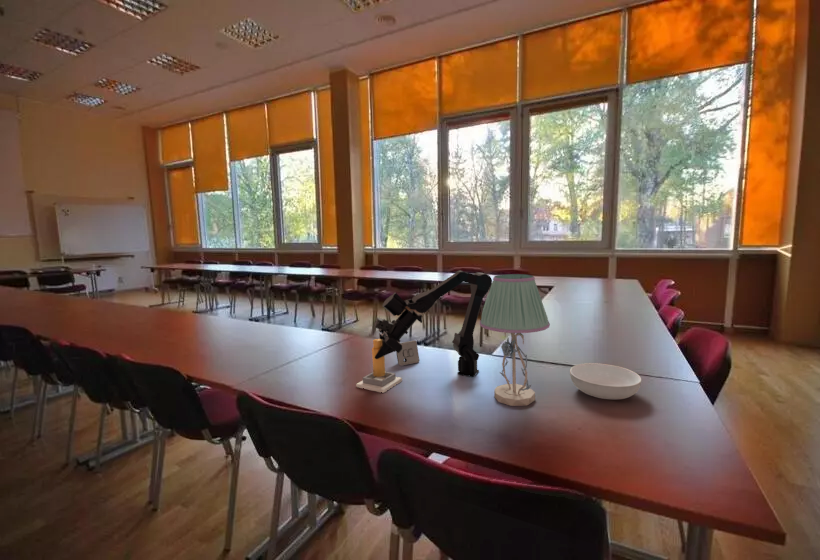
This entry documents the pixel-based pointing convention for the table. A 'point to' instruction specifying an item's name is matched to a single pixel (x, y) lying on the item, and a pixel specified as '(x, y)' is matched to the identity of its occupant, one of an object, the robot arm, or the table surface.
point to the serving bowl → (605, 380)
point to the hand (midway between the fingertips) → (374, 356)
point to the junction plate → (379, 382)
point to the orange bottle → (380, 362)
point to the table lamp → (514, 327)
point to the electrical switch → (408, 353)
